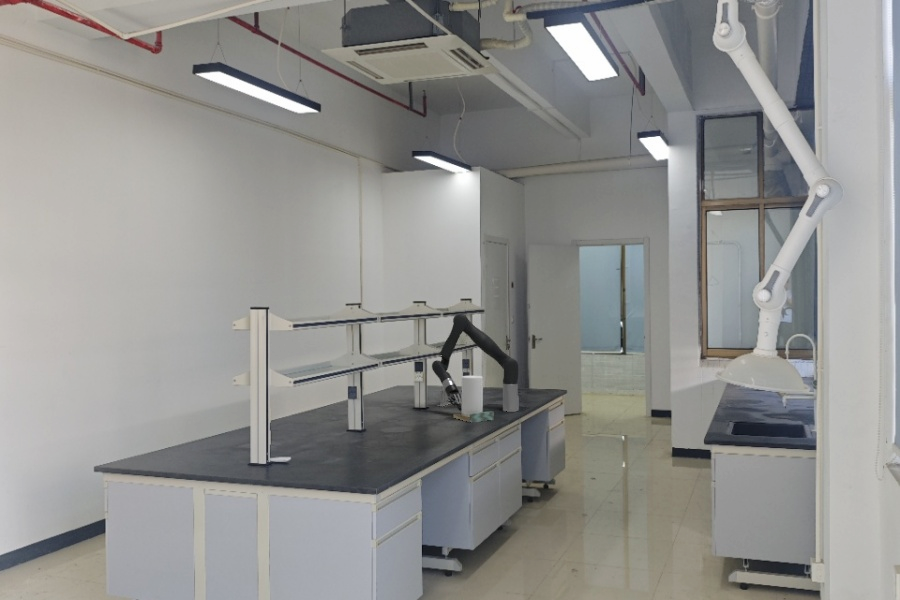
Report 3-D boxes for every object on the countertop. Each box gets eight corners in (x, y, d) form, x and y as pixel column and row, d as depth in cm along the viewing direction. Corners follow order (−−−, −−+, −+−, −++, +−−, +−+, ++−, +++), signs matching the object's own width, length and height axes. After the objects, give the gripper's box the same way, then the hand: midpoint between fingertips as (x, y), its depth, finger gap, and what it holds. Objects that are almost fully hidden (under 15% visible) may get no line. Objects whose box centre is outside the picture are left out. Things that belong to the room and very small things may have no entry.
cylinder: (457, 418, 461) (457, 376, 461) (474, 416, 468) (474, 375, 468) (469, 421, 451) (469, 378, 450) (486, 419, 458) (486, 377, 457)
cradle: (475, 416, 470) (475, 407, 470) (493, 420, 456) (493, 411, 455) (453, 418, 461) (453, 410, 461) (471, 422, 446) (471, 414, 446)
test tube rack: (443, 407, 505) (443, 386, 505) (436, 406, 507) (436, 386, 507) (458, 402, 528) (458, 382, 528) (452, 401, 530) (452, 382, 529)
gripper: (443, 384, 471) (455, 407, 462) (461, 382, 479) (473, 405, 469) (438, 392, 476) (450, 414, 466) (456, 390, 483) (467, 412, 474)
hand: (461, 409), depth 468 cm, fingers closed
